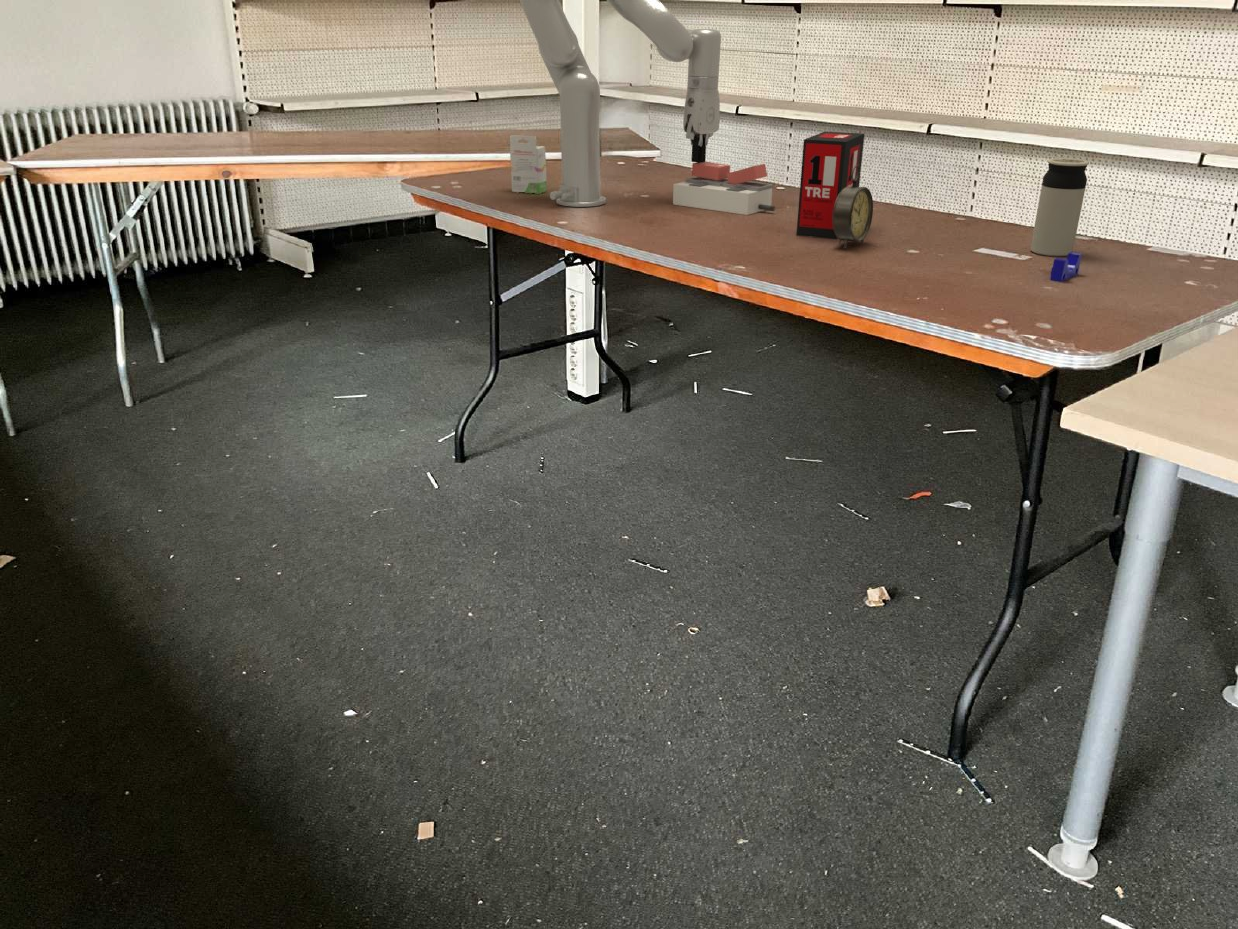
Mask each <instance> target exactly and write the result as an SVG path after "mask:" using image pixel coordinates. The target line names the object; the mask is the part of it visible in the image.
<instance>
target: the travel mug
mask: <svg viewBox="0 0 1238 929" xmlns="http://www.w3.org/2000/svg"><path fill="white" fill-rule="evenodd" d="M1047 163H1048V170H1047V171H1046V172H1045V174H1044V176H1042V177H1043V178H1042V182H1041V187H1040V194H1039V199H1038V205H1037V210H1036V215H1035V221H1034V228H1033V232H1032V238H1031V243H1030V247H1029V248H1030V251H1031V252H1033V253H1034V254H1037V255H1041V256H1046V257H1055V258H1059V257H1066V256H1068V253H1070V252H1074V249H1075V248H1074V246H1075V241H1076V237H1077V233H1078V227H1079V222H1080V217H1081V212H1082V207H1083V203H1084V198H1085V194H1086V193H1085V192H1086V188H1087V187H1086V186H1087V182H1088V178H1087V175H1086V169H1087V167H1088V165H1089V164H1090V162H1089V161H1088V160H1086V159H1079V158H1066V157H1055V158H1049V159H1047Z"/></svg>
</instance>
